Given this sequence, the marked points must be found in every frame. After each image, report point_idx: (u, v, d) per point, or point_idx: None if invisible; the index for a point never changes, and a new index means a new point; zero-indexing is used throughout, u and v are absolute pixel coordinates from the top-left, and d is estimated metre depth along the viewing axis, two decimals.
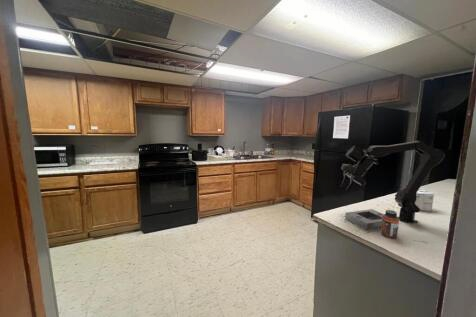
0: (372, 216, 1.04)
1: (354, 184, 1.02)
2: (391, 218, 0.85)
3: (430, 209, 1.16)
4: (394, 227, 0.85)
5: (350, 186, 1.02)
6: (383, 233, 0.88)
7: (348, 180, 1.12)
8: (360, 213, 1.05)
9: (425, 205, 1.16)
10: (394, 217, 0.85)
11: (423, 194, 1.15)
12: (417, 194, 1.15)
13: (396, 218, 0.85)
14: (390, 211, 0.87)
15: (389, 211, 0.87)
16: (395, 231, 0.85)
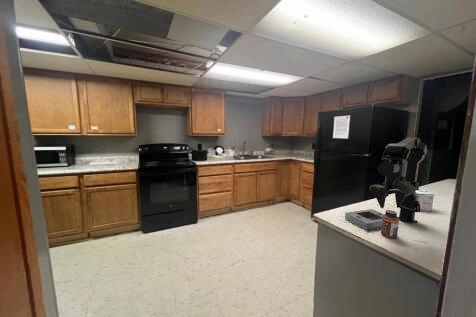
0: (372, 216, 1.04)
1: None
2: (391, 218, 0.85)
3: (430, 209, 1.16)
4: (394, 227, 0.85)
5: None
6: (383, 233, 0.88)
7: None
8: (360, 213, 1.05)
9: (425, 205, 1.16)
10: (394, 217, 0.85)
11: (423, 194, 1.15)
12: (417, 194, 1.15)
13: (396, 218, 0.85)
14: (390, 211, 0.87)
15: (389, 211, 0.87)
16: (395, 231, 0.85)
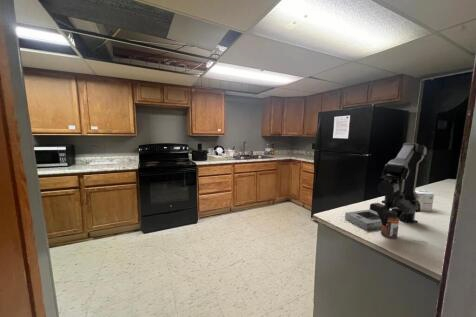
0: (372, 216, 1.04)
1: None
2: (391, 218, 0.85)
3: (430, 209, 1.16)
4: (394, 227, 0.85)
5: None
6: (383, 233, 0.88)
7: None
8: (360, 213, 1.05)
9: (425, 205, 1.16)
10: (394, 217, 0.85)
11: (423, 194, 1.15)
12: (417, 194, 1.15)
13: (396, 218, 0.85)
14: (390, 211, 0.87)
15: (389, 211, 0.87)
16: (395, 231, 0.85)
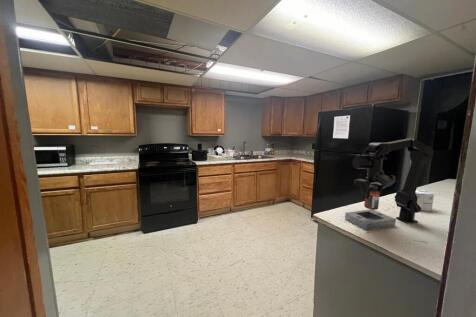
0: (372, 216, 1.04)
1: None
2: (373, 192, 0.97)
3: (430, 209, 1.16)
4: (375, 200, 0.97)
5: None
6: (366, 206, 0.99)
7: None
8: (360, 213, 1.05)
9: (425, 205, 1.16)
10: (375, 191, 0.97)
11: (423, 194, 1.15)
12: (417, 194, 1.15)
13: (377, 192, 0.97)
14: (372, 186, 0.98)
15: (371, 186, 0.99)
16: (376, 203, 0.97)
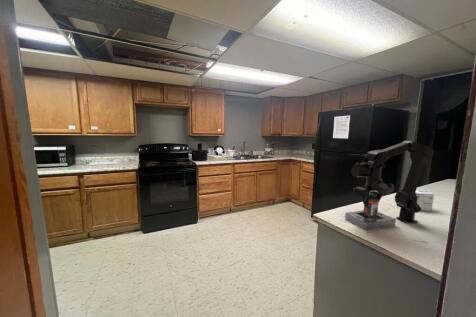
0: None
1: None
2: (371, 200, 0.98)
3: (430, 209, 1.16)
4: (374, 208, 0.97)
5: None
6: (365, 213, 1.00)
7: None
8: (360, 213, 1.05)
9: (425, 205, 1.16)
10: (374, 199, 0.98)
11: (423, 194, 1.15)
12: (417, 194, 1.15)
13: (376, 200, 0.97)
14: (371, 194, 0.99)
15: (370, 194, 1.00)
16: (375, 211, 0.98)
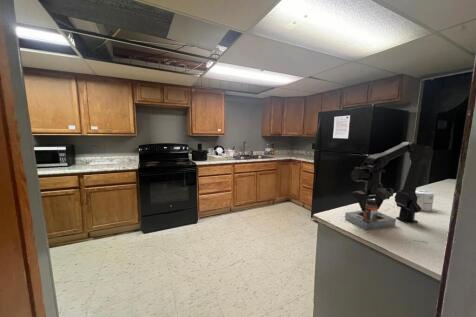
0: None
1: None
2: (371, 205, 0.98)
3: (430, 209, 1.16)
4: (373, 214, 0.98)
5: None
6: None
7: None
8: (360, 213, 1.05)
9: (425, 205, 1.16)
10: (373, 205, 0.98)
11: (423, 194, 1.15)
12: (417, 194, 1.15)
13: (375, 205, 0.98)
14: (370, 200, 1.00)
15: (369, 200, 1.00)
16: (374, 217, 0.98)
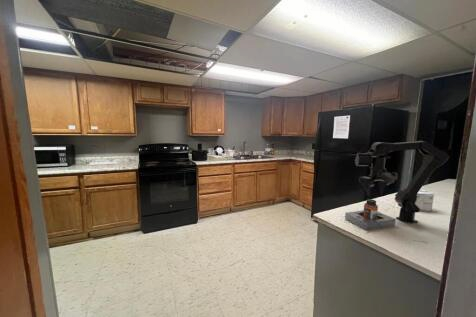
0: None
1: None
2: (371, 206, 0.98)
3: (430, 209, 1.16)
4: (373, 214, 0.98)
5: None
6: None
7: None
8: (360, 213, 1.05)
9: (425, 205, 1.16)
10: (373, 205, 0.98)
11: (423, 194, 1.15)
12: (417, 194, 1.15)
13: (375, 206, 0.98)
14: (370, 200, 1.00)
15: (369, 200, 1.00)
16: (374, 217, 0.98)
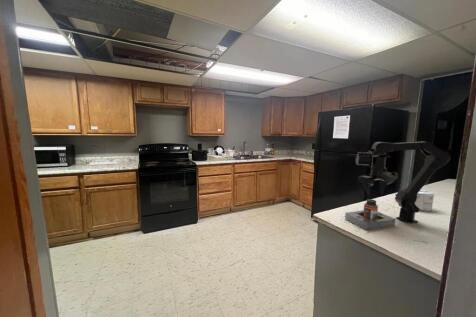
0: None
1: None
2: (371, 206, 0.98)
3: (430, 209, 1.16)
4: (373, 214, 0.98)
5: None
6: None
7: None
8: (360, 213, 1.05)
9: (425, 205, 1.16)
10: (373, 205, 0.98)
11: (423, 194, 1.15)
12: (417, 194, 1.15)
13: (375, 206, 0.98)
14: (370, 200, 1.00)
15: (369, 200, 1.00)
16: (374, 217, 0.98)
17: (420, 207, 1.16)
